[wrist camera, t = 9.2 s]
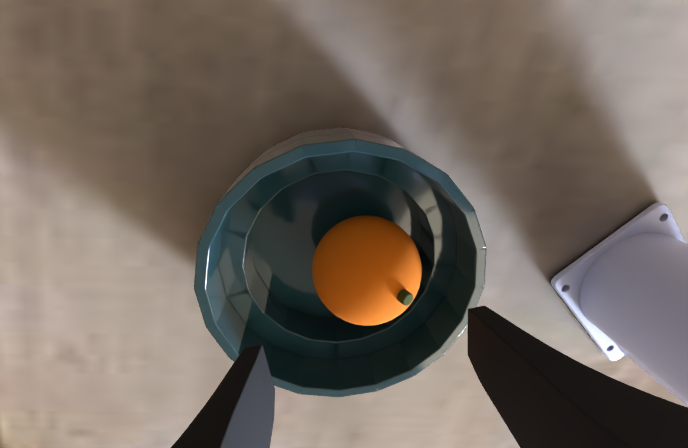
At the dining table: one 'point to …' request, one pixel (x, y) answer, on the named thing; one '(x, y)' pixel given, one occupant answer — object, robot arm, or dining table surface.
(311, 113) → the dining table surface
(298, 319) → the bowl
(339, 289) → the mandarin
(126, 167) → the dining table surface
